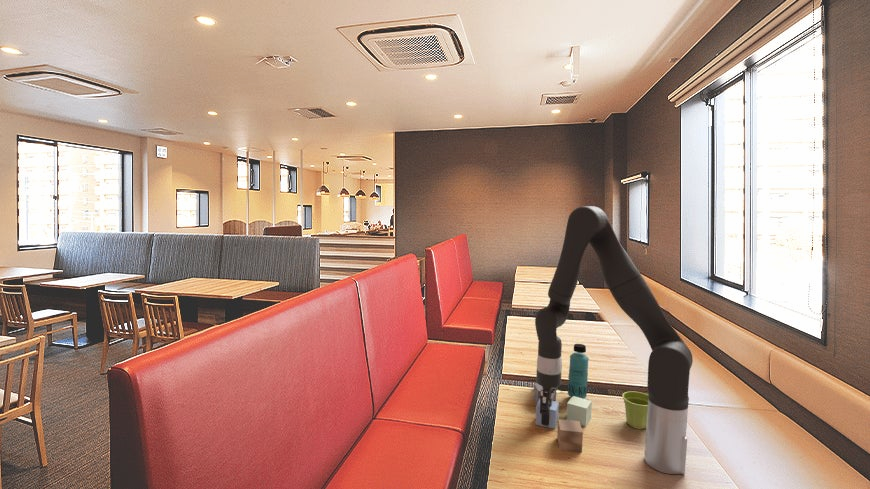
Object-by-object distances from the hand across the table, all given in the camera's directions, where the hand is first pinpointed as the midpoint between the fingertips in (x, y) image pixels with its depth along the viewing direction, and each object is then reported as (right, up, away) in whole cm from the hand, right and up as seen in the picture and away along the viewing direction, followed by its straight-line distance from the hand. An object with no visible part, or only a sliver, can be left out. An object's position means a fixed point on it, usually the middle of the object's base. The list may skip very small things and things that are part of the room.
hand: (547, 419), depth 132 cm
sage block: (+11, -1, +2) cm, 11 cm away
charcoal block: (+2, 0, +12) cm, 12 cm away
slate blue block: (0, -1, 0) cm, 1 cm away
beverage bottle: (+15, 0, +15) cm, 21 cm away
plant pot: (+28, -1, -1) cm, 28 cm away
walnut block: (+3, -2, -12) cm, 13 cm away
